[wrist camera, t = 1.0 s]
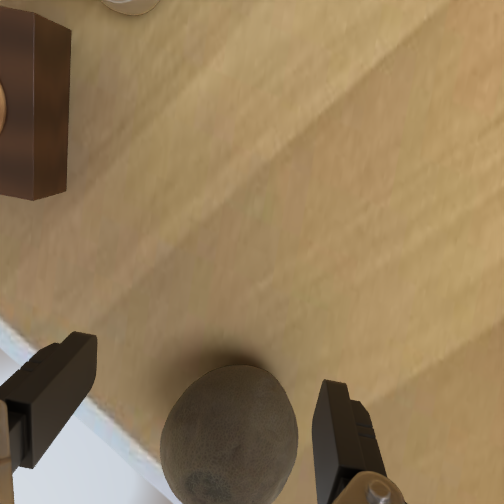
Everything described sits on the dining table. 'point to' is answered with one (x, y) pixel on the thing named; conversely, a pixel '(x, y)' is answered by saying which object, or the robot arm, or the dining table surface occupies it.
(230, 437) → the cantaloupe
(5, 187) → the walnut box
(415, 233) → the dining table surface
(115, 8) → the metal bottle
